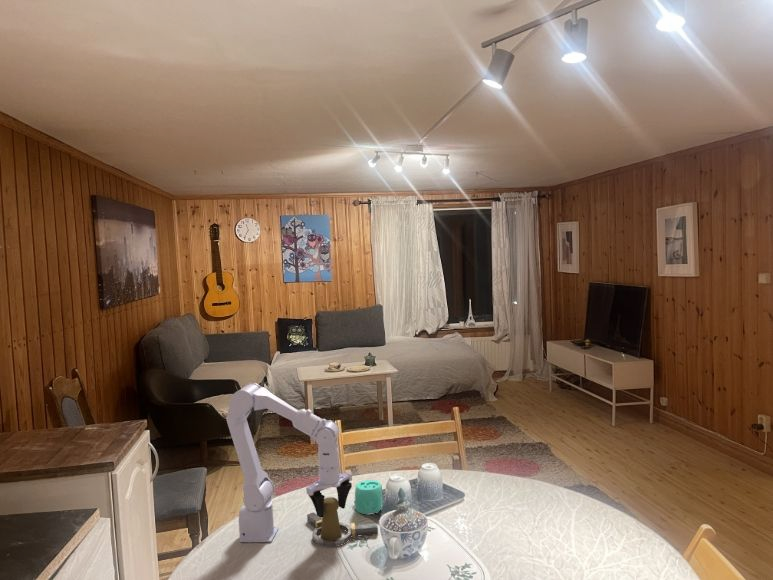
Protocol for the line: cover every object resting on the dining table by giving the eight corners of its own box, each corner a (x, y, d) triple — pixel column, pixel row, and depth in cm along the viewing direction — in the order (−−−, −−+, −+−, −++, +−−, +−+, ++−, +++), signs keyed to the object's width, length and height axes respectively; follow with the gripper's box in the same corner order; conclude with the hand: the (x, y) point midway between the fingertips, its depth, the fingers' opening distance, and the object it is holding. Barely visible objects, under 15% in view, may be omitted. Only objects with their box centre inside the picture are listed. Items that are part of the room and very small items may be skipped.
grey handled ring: (296, 547, 156) (296, 538, 156) (308, 519, 172) (308, 511, 172) (376, 546, 155) (375, 537, 154) (380, 518, 171) (380, 510, 170)
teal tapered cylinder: (358, 504, 181) (356, 479, 181) (382, 503, 181) (381, 479, 180) (355, 515, 173) (354, 490, 173) (381, 515, 173) (380, 489, 173)
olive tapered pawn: (319, 542, 158) (317, 504, 157) (321, 531, 164) (319, 495, 164) (341, 541, 158) (339, 503, 158) (342, 530, 164) (340, 494, 164)
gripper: (315, 476, 152) (318, 525, 153) (357, 461, 161) (359, 507, 162) (301, 469, 157) (303, 516, 158) (342, 455, 167) (345, 500, 167)
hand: (331, 511), depth 160 cm, fingers open, 7 cm apart
